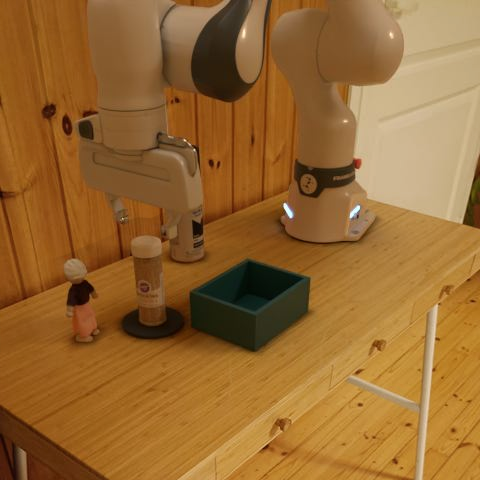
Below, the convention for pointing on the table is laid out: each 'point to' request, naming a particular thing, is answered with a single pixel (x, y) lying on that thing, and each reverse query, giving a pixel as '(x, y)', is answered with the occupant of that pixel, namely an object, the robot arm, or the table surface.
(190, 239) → the spray can
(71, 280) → the grandmother figurine
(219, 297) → the basin
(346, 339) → the table surface
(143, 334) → the pad
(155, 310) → the sprinkles bottle
